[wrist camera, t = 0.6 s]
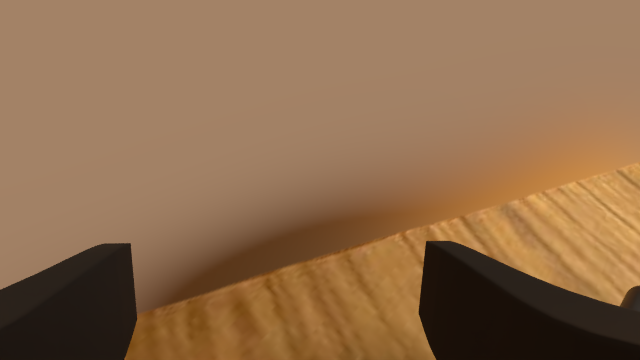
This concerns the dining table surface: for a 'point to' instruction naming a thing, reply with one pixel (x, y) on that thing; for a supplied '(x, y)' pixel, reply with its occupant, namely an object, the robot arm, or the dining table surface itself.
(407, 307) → the dining table surface
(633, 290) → the pan handle
